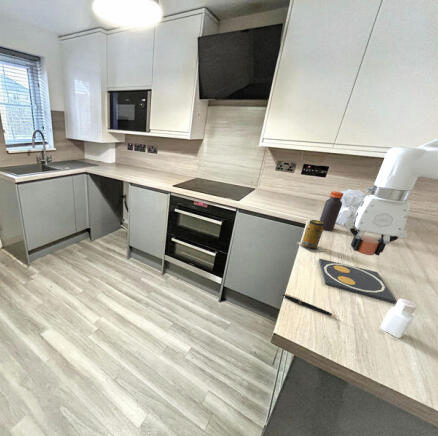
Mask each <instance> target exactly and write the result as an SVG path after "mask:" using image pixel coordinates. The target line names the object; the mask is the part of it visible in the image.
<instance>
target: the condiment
mask: <svg viewBox="0 0 438 436" xmlns="http://www.w3.org/2000/svg"><path fill="white" fill-rule="evenodd" d="M323 225H324V223H323V222H321V221H320V220H317V219H311V220H309V222H308V225H307V226H306V228H305V230H304V234H303V237H302V240H301V242H300V241H299V242H298V241H297V245H299V246H301V247H302V248H304V249H306V250H308V251H310V252H312V253H314V252H316V253H317V252H326V250H325V249H323V248H321V247H320V246H319V243H320V241H321V238H322V235H323V232H324V230H323Z"/></svg>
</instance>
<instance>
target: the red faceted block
mask: <svg viewBox="0 0 438 436" xmlns="http://www.w3.org/2000/svg"><path fill="white" fill-rule="evenodd" d="M361 240H362V241H361V244H360V246H359V249H358V251H357V252H358V253H360V254H362V255H364V256H365V255H366V256H374V255H375V252H376V249H377V247H378V245H379V241H377V240H378V239H374V238H373V237H368V236H362V237H361Z"/></svg>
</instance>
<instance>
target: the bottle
mask: <svg viewBox="0 0 438 436" xmlns="http://www.w3.org/2000/svg"><path fill="white" fill-rule="evenodd" d="M341 192H342V191H336V190H335V191H333V190H332V191H331V192H330V195H329V198H328V199H326V200H325V203H324V206H323V209H322V212H321V215H320V218H319V221H321V222H323V223H324V225H323V231H325V232H326V231H327V232H331V231H333V230H334V228H335V225H336V224H337V223H336V220H337V217H338V214H339V212H340V209H341V206H342V202H341V199H342V197H343V193H341Z"/></svg>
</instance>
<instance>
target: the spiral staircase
mask: <svg viewBox="0 0 438 436" xmlns="http://www.w3.org/2000/svg"><path fill="white" fill-rule="evenodd" d="M340 192H341V193H343V197H342V199H341V202H342V206H341V209H340V212H339V214H338V217H337V220H336V223H335V224H339V225H341V226H343V227H345V226H344V223H346V222H347V221H349V220H350V219H352V218H354V217H355V215H356V213H357V211H358V209H359V207H360V205H361V203H362V202H363V200H364V199H365V197H366V196H367V195H368V194H367V193H363V192H362V191H361V190H360V189H357V190H355V189H351V188H347V190H342V191H340ZM352 227H355V225H354V224H353V225H352Z"/></svg>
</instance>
